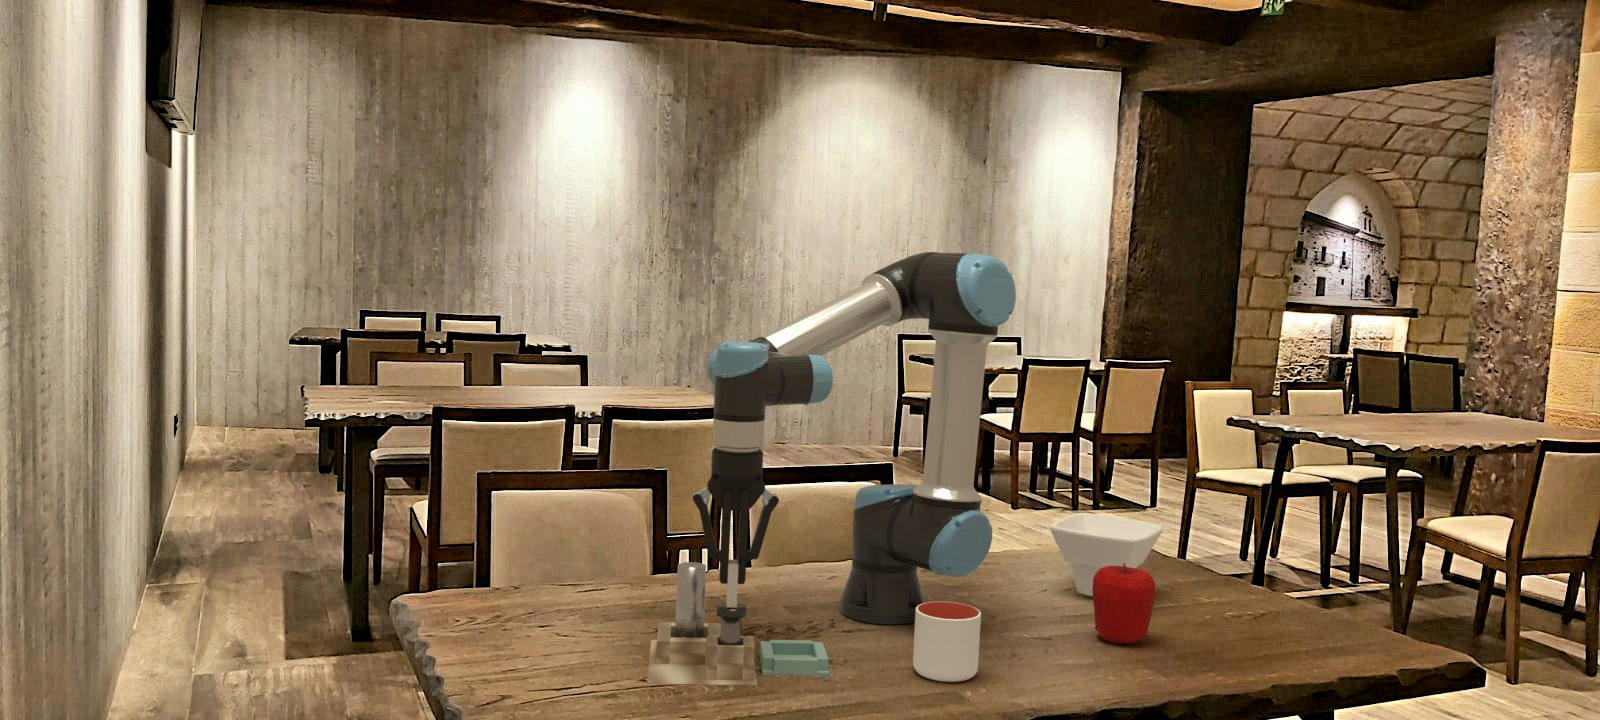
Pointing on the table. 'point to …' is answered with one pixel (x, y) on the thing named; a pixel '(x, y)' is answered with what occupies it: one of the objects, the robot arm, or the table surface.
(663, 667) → the socket block
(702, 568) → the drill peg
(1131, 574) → the apple
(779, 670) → the tray
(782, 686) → the table surface
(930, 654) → the cup
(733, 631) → the black mushroom head peg
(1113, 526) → the bowl
